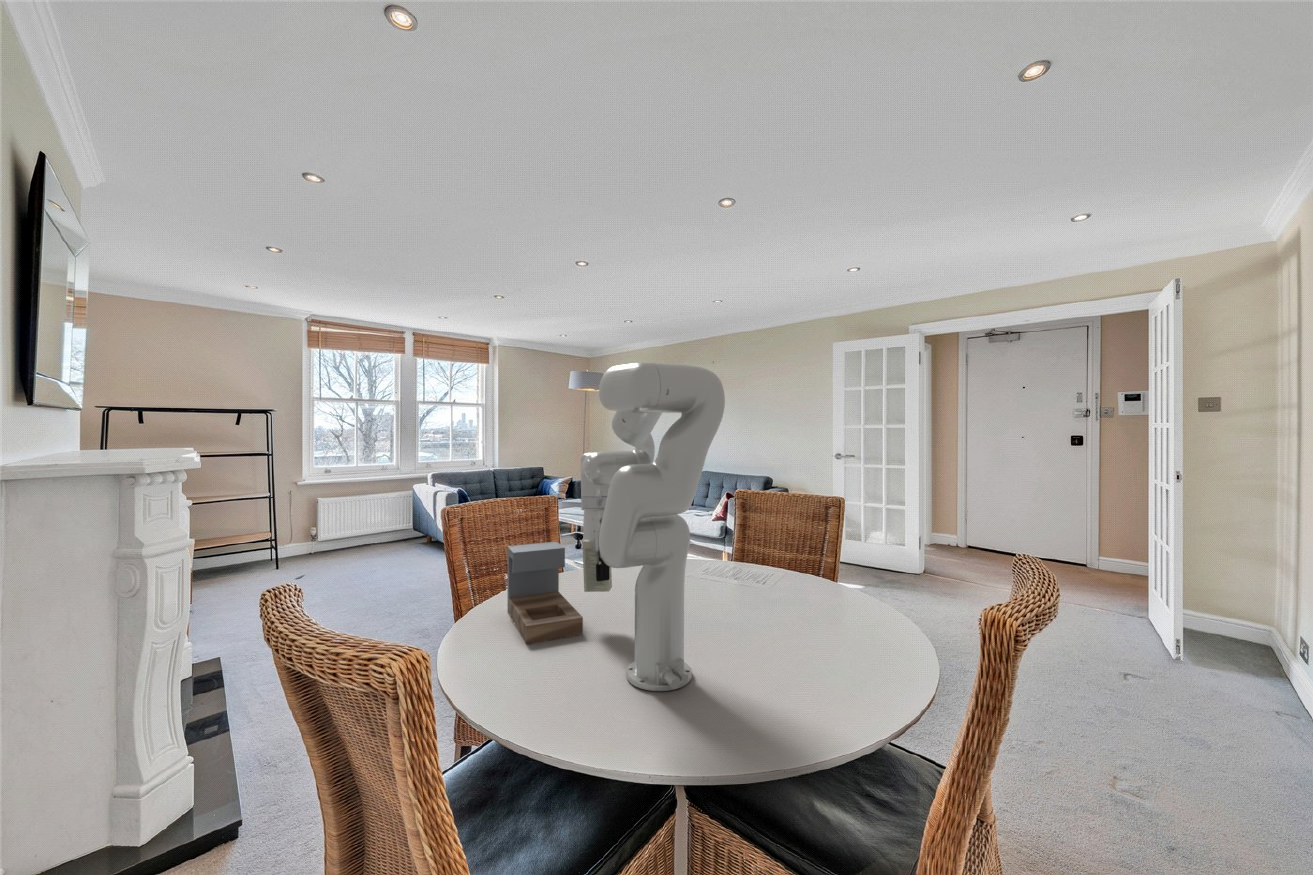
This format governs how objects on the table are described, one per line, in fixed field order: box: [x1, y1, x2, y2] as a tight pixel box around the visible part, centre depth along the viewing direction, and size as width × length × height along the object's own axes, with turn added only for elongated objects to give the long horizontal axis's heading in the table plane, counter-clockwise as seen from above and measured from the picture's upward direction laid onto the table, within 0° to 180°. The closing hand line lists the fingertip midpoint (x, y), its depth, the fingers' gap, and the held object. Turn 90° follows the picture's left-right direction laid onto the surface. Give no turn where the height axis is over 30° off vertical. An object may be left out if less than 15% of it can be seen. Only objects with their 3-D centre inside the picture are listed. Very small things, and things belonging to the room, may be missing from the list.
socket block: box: [508, 591, 584, 645], centre depth 129 cm, size 21×13×4 cm, turn 26°
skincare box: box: [582, 540, 613, 593], centre depth 128 cm, size 6×4×12 cm
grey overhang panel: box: [506, 541, 566, 614], centre depth 136 cm, size 8×13×17 cm, turn 116°
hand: (597, 576), depth 128 cm, fingers closed on skincare box, 6 cm apart
